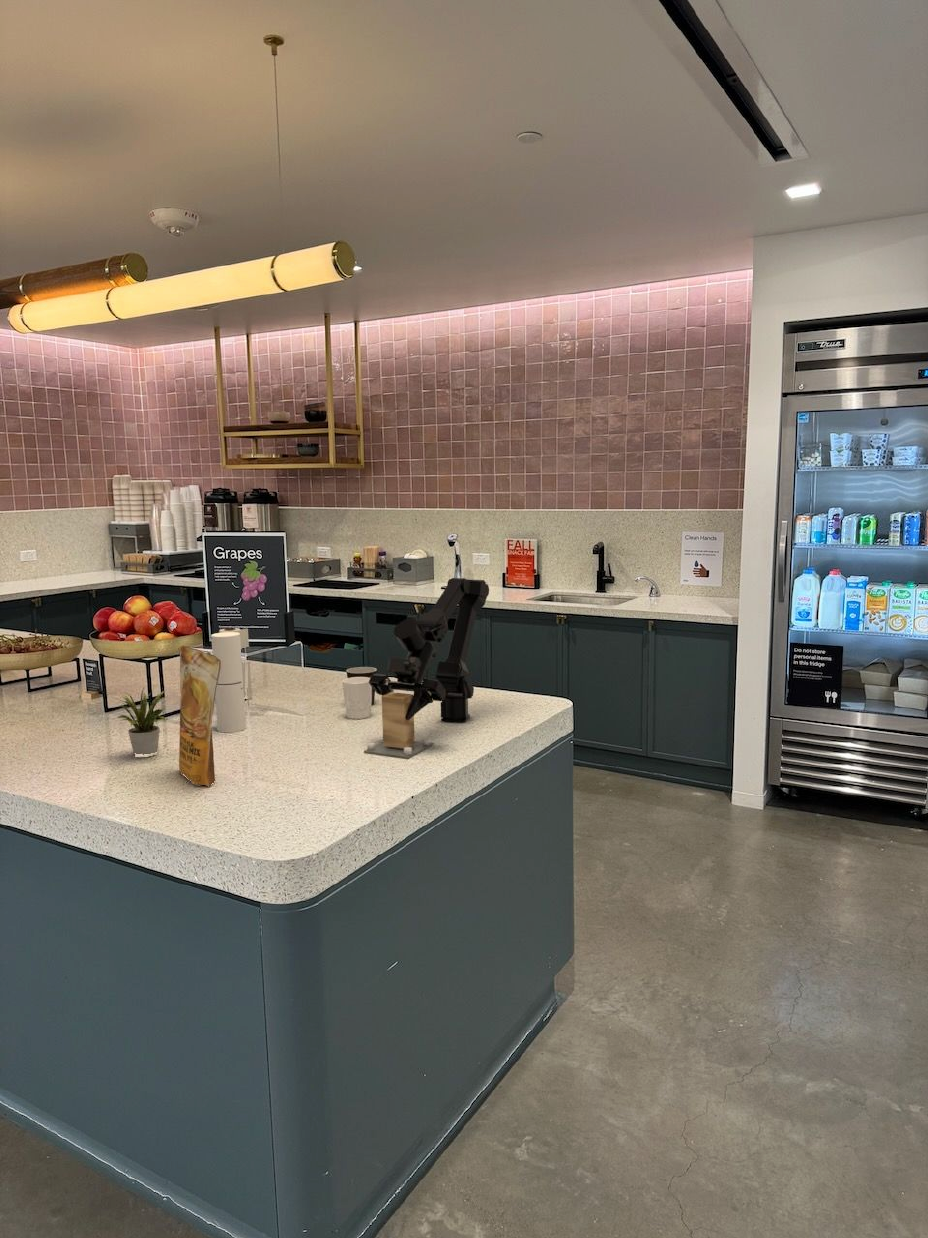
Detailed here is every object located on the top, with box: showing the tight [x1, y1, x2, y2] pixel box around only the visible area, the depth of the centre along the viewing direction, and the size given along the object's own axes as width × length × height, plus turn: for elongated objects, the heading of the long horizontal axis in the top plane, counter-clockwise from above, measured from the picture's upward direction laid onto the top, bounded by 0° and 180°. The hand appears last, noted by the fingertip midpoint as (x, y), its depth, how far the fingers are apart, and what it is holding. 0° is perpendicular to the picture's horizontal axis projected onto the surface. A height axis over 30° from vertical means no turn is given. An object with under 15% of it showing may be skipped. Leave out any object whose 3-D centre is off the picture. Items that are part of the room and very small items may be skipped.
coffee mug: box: [345, 666, 378, 706], centre depth 259 cm, size 12×9×10 cm
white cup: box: [342, 677, 373, 720], centre depth 245 cm, size 8×8×10 cm
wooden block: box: [380, 691, 416, 748], centre depth 213 cm, size 4×6×12 cm
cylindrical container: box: [210, 632, 247, 734], centre depth 233 cm, size 7×7×25 cm
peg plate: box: [363, 736, 435, 760], centre depth 214 cm, size 12×12×2 cm
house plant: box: [112, 687, 167, 755], centre depth 212 cm, size 14×14×16 cm
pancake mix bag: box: [178, 645, 221, 788], centre depth 195 cm, size 7×19×28 cm, turn 35°
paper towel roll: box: [218, 627, 253, 700], centre depth 264 cm, size 7×6×21 cm
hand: (395, 717), depth 212 cm, fingers open, 6 cm apart
